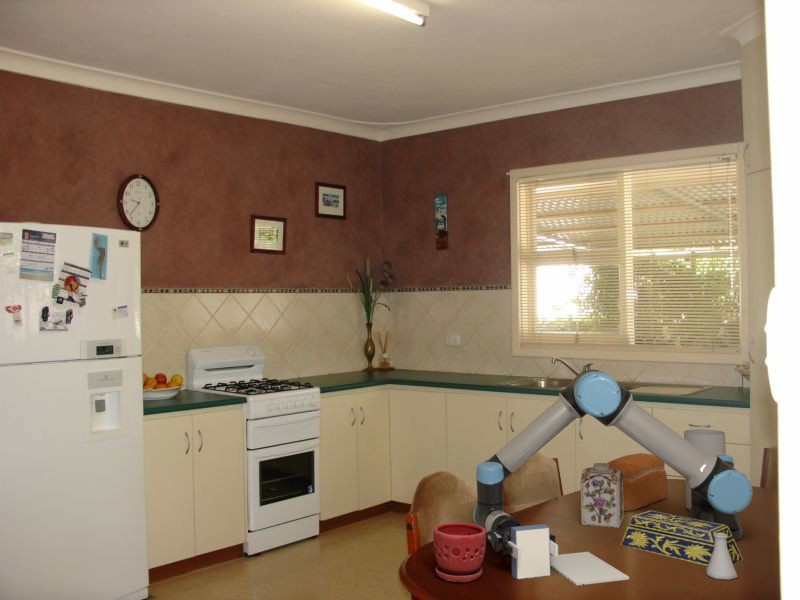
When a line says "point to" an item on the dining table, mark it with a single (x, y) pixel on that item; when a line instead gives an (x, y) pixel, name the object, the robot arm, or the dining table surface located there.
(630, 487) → the bread
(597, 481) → the decorative jar
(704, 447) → the cylinder vase
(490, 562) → the dining table surface
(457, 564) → the plant pot
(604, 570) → the mat
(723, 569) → the flask
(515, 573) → the book
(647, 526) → the decorative box
